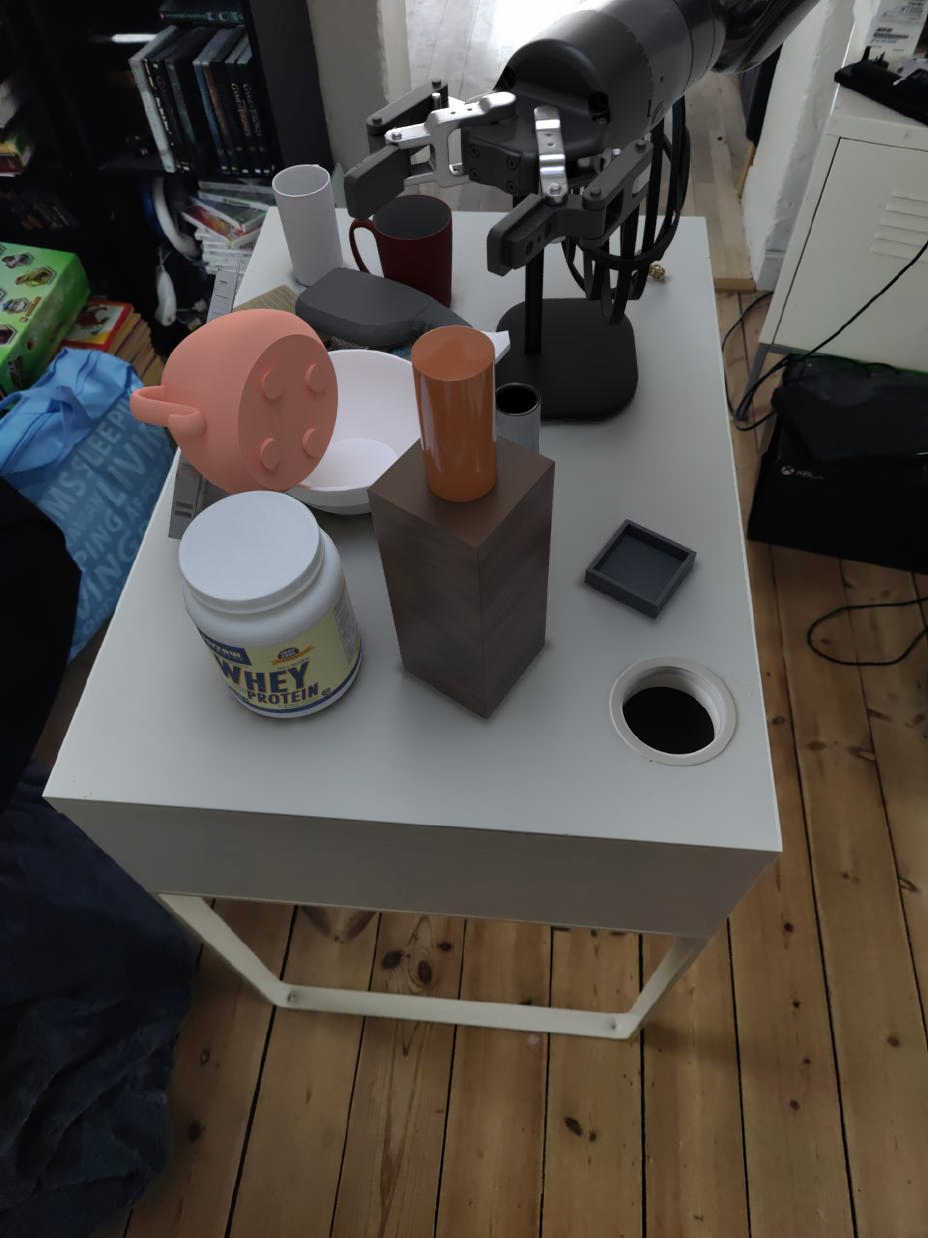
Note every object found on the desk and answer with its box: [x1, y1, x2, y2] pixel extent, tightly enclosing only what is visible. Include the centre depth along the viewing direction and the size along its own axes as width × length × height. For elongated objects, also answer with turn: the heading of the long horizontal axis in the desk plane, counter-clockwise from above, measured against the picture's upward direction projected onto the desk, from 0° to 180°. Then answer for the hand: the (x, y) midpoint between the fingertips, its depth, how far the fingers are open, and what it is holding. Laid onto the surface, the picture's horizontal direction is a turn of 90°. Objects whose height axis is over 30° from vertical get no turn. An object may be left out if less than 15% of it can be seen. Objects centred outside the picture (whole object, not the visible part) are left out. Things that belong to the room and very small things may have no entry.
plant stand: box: [367, 434, 556, 720], centre depth 66 cm, size 9×9×23 cm
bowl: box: [284, 348, 420, 516], centre depth 85 cm, size 19×20×8 cm
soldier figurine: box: [632, 245, 667, 281], centre depth 104 cm, size 2×1×4 cm
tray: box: [584, 518, 698, 620], centre depth 79 cm, size 7×7×2 cm
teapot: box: [128, 309, 338, 495], centre depth 73 cm, size 22×16×12 cm
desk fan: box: [495, 93, 692, 421], centre depth 82 cm, size 27×18×35 cm, turn 178°
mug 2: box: [348, 194, 454, 309], centre depth 100 cm, size 12×9×11 cm
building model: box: [167, 252, 243, 541], centre depth 84 cm, size 25×18×2 cm
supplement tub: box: [177, 491, 363, 719], centre depth 69 cm, size 12×12×17 cm
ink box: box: [232, 284, 335, 352], centre depth 100 cm, size 10×4×8 cm
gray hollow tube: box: [496, 383, 541, 454], centre depth 83 cm, size 4×4×10 cm
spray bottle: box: [295, 267, 510, 365], centre depth 94 cm, size 3×11×24 cm
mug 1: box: [271, 164, 345, 288], centre depth 105 cm, size 10×7×12 cm, turn 169°
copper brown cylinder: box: [411, 326, 498, 502], centre depth 53 cm, size 5×5×10 cm
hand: (419, 228), depth 41 cm, fingers open, 8 cm apart
